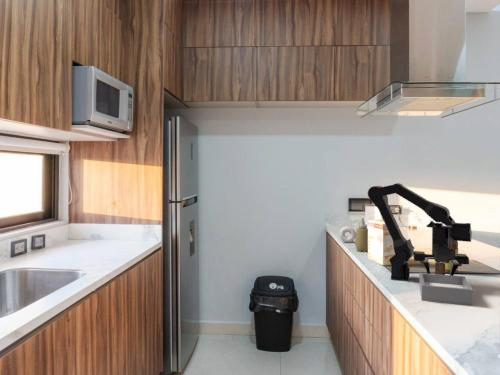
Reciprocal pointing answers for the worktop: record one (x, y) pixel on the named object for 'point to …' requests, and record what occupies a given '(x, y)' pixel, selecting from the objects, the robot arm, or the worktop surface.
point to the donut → (350, 230)
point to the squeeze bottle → (361, 237)
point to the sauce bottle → (454, 246)
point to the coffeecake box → (379, 242)
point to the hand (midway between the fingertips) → (440, 279)
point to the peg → (440, 268)
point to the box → (445, 289)
